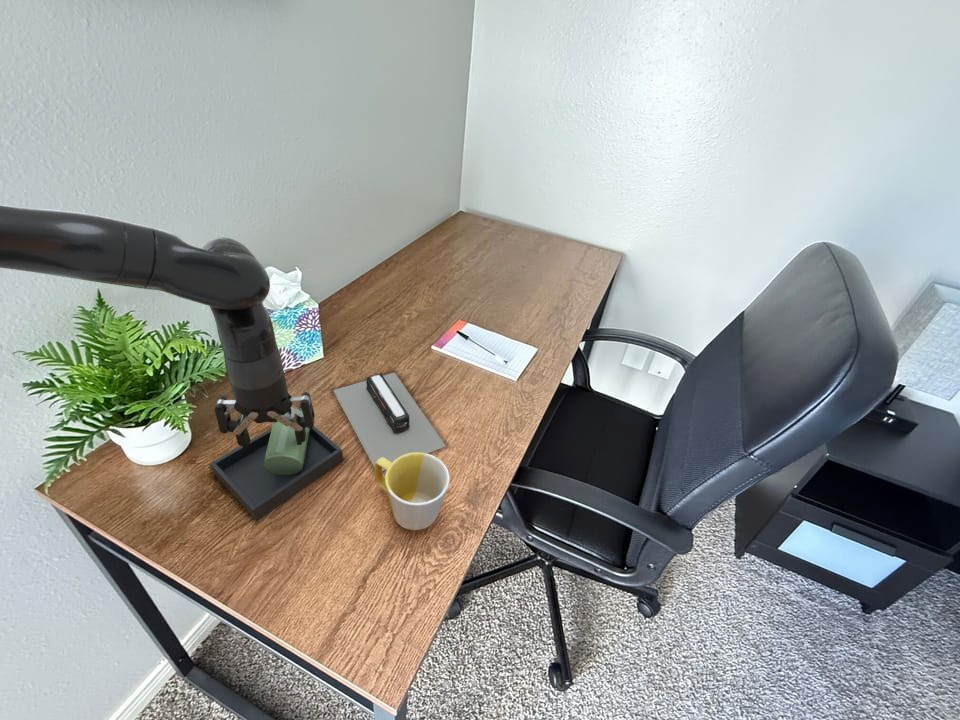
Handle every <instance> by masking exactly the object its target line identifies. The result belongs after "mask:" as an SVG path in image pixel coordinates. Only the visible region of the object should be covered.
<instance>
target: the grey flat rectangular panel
mask: <svg viewBox="0 0 960 720" xmlns="http://www.w3.org/2000/svg"><path fill="white" fill-rule="evenodd" d="M332 391H333V393H334V395H335V398H336V399H337V401H338V402H339V405H340V406H341V408H342V410H343V412H344V413H345V416H346V417H347V419H348V421H349V423H350V425H351V427H352V429H353V430H354V432H355V434H356V436H357V438H358V440H359V442H360V443H361V446H362V447H363V449H364V451H365V453H366V456H367V457H368V459H369V460H370V462H371V464H372V466H373V468H374V469H375V463H376V461H377V460H378V459H379V458H381V457H384V458H386V459H387V460H389V461H390V462H393V461H394V460H395V459H397V458H398V457H400V456H402V455H405V454H408V453H415V452H420V453H427V454H430V453H432V452H435V451H437V450H440V449H443V448H445V447H447V446H446V444H445V443H444V441H443V440H442V438H441V437H440V435H439V434H438V433H437V431H436V430H435V428H434V427H433V425H432V424H431V422H430V421H429V419H428V418H427V417H426V415H425V414H424V412H423V411H422V410H421V408H420V407H419V405H418V404H417V403H416V401H415V400H414V398H413V397H412V396H411V394H410V392H409V391H408V389H407V388H406V386H405V385H404V384H403V382H402V381H401V379H400V378H399V377H398V375H397V373H396V372H391V373H387V374H384V375H383V374H382V371H380V372H379V373H375V374H372V375H369V376H367V377H366V380H364V381H360V382H356V383H354V384H349V385H346V386H343V387H340V388H336V389H333V390H332ZM384 471H386V470H385V469H384V468H382V472H384Z"/></svg>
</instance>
